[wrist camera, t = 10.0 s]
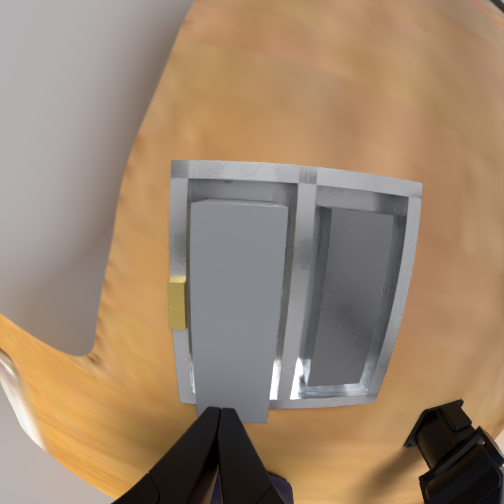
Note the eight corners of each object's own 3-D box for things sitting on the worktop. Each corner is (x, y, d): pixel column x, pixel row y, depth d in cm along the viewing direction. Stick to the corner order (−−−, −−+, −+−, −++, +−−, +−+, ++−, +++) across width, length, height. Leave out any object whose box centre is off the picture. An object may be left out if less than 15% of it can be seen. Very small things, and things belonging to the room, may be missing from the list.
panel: (263, 366, 20) (266, 423, 14) (209, 363, 20) (197, 419, 14) (275, 201, 17) (288, 207, 11) (211, 198, 17) (190, 203, 11)
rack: (363, 381, 21) (377, 406, 18) (187, 379, 21) (178, 407, 17) (400, 183, 17) (427, 183, 14) (183, 164, 17) (168, 159, 14)
